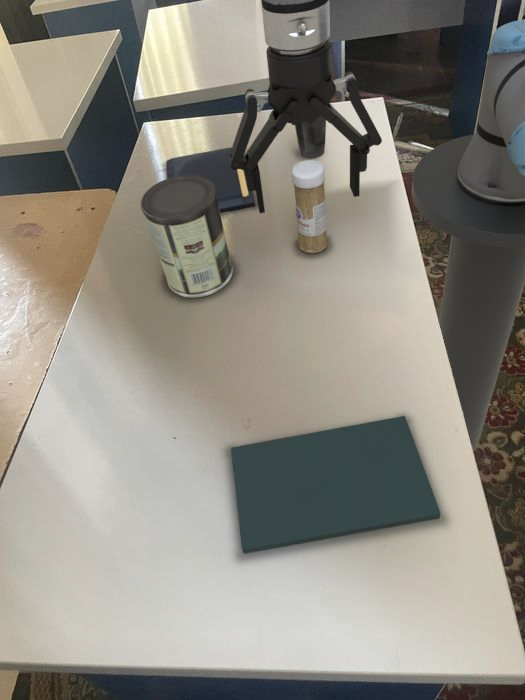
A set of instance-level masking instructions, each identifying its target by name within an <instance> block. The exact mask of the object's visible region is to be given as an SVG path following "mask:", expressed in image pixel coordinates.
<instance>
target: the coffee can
mask: <svg viewBox="0 0 525 700" xmlns="http://www.w3.org/2000/svg"><path fill="white" fill-rule="evenodd" d="M140 210H141V211H142V214H143V215H144V217H145V220H146V224H147V226H148V229H149V232H150V235H151V238H152V240H153V243H154V246H155V250H156V253H157V255H158V258H159V261H160V263H161V266H162V270H163V272H164V276H165V279H166V283H167V285H168V287H169V289H170V290H171V292H173V293H174V294H176V295H178V296H181V297H184V298H188V299H189V298H191V299H193V298H194V299H195V298H197V299H198V298H203V297H207V296H210V295H213V294H215V293H218V292H219V291H220V290H222V289H223V288H224V287H225V286H226V285H227V284H228V283H230V281H231V279H232V277H233V273H234V267H233V264H232V260H231V256H230V252H229V247H228V243H227V240H226V239H227V238H226V234H225V230H224V225H223V222H222V217H221V212H220V211H219V207H218V202H217V197H216V188H215V186H214V184H213V183H212V182H211V181H210V180H208V179H206V178H204V177H201V176H196V175H182V176H176V177H172V178H168V179H167V178H166V179H163V180H161V181H159V182H157V183H155V184H154V185H152V186H150V188H148V189H147V190H146V191H145V192H144V194H143V195H142V196H141V199H140Z"/></svg>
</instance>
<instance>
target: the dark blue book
mask: <svg viewBox="0 0 525 700" xmlns="http://www.w3.org/2000/svg"><path fill="white" fill-rule="evenodd" d="M231 149H232V147H225V148H218V149H214V150H209V151H203V152H198V153H191V154H187V155H181V156H176V157H172V158H170V159H167V160H166V163H165V164H166V179H168V178H172V177H176V176H182V175H196V176H201V177H204V178H206V179H208V180H210V181H211V182H212V183H213V184H214V186H215V188H216V197H217V202H218V207H219V211H220V213H224V212H229V211H234V210H238V209H244V208H247V207H248V208H249V207H254V206H255V200H254V199H255V198H254V194H253V191H249V190H248V188H247V183H246V177H245V172H244V171H243V170H241V169H238V170H232V169H231V166H230V160H229V155H230V152H231Z"/></svg>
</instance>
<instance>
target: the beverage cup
mask: <svg viewBox="0 0 525 700" xmlns="http://www.w3.org/2000/svg"><path fill="white" fill-rule="evenodd" d="M294 128H295V134H296V139H297V145H298V149H299V152H300V157H302V158H303V159H306V160H315V159H318V158H320V157H323V155H324V154H325V147H326V146H325V145H326V138H327V137H326V135H327V134H326V132H327V120H326V119H324V118H323V117H322V116H320V117H319V118H318V119H316V121H314V122H302V123H300V124H297V125H294Z"/></svg>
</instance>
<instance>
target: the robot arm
mask: <svg viewBox="0 0 525 700" xmlns="http://www.w3.org/2000/svg"><path fill="white" fill-rule="evenodd" d="M260 1H261V12H262V13H261V14H262V22H263V33H264V42H265V44H266V45H267V46H268V47H267V48H266V50H265V51H266V61H267V71H268V73H267V74H268V82H269V84H268V89H267V91H259V92H258V91H257V92H255V91H254V89H253V88H247V89H246V90H245V93H244V97H245V98H244V102H245V103H244V105H245V108H244V111H243V113H242V116H241V119H240V122H239V125H238V128H237V131H236V134H235V136H234V140H233V143H232V146H231V148H232V149H231V152H230V155H229V160H230V166H231V169H232V170H238V169H241V170H243V171H244V172H245V177H246V183H247V188H248V190H249V191H252V192H255V197H256V202H257V207H258V212H259V214H265V213H266V210H265V202H264V194H263V186H262V179H261V171H260V168H259V162H260V161H261V159H262V158H263V156H264V155H265V154H266V153H267V151H268V149H269V147H270V146H271V145H272V143H273V142H274V140H275V139H276V137H277V136H278V134H279V133H281V132H283V130H284V128H285V127H286V125H287V124H290V125H292V126H295V125H297V124H300V123H302V122H314V121H316V119H318V118H319V117H320V116H322V117H323V118H324V119H326V122H328V124H331V126H333V127H334V128H335V129H336V130H337V131H338V132H339V133H340V134H341V135H342V136H344V137H345V138H346V139H347V141H349V142H350V143H351V144H349V189H350V191H351V193H352V196H353V197H354V198H357V197H360V189H361V188H360V187H361V186H360V185H361V184H360V183H361V182H360V180H361V173H364V172H366V170H367V168H368V154H370V151H371V149H370V148H371V147H374V146H380V145H381V144H382V142H383V139H382V137H381V135H380V133H379V131H378V129H377V127H376V125H375V123H374V122H373V120H372V118H371V116H370V114H369V112H368V110H367V108H366V106H365V105H364V103H363V101H362V99H361V96H360V91H359V82H358V80H357V78H356V76H355V75H354V73H353V72H352V71H347V72H345V73H344V75H343V76H342V77H340V78H336V79H333V77H332V76H333V75H332V44H331V43H332V42H330V40H329V38H330V36H331V34H332V33H331V7H330V6H331V5H330V4H331V3H330V0H260ZM486 55H487V59H486V65H485V72H484V78H483V84H482V90H481V97H480V103H479V108H478V109H479V110H478V115H477V121H476V128H475V132H474V136H473V138H472V140H471V141H470V143H469V145H468V147H467V149H466V151H465V153H464V155H463V157H462V159H461V161H460V163H459V167H458V172H457V181H458V184H459V186H460V187H461V189H462V190H463V191H464V192H466V193H467V194H468V195H470V196H472V197H473V198H475V199H478V200H480V201H483V202H486V203H490V204H496V205H504V206H518V205H525V19H518V20H513V21H511V22H508V23H505V24H503V25H501V26H499V27H498V28H497V29H496V30H495V31H494V32H493V34H492V36H491V40H490V44H489V48H488V50H487V52H486ZM336 92H339V93H340V94H341V95H342V97H344V98H348V100H349V102H350V104H351V105H352V107H353V109H354V111H355V113H356V115H357V117H358V118H359V120H360V121H361V124H362V126H363V128H364V129H365V131H366V133H365V134H363V135H362V133H361V132H359V130H358V129H356V127H354V126H353V124H351V123H350V122H349V121H348V120H347V119H346V118H345V117H344V116H343V115H342V114H341V113H340V112H339V111H338V110H337V109H336V108H335V107H334V106H333V105H332V103H331V101H332V99H333V98H334V96H335V94H336ZM266 104H268V105H269V106H270V107H271V108H272V110H271V112H270V113H269V115H268V119H267V121H266V122H265V123H264V125H263V127H262V128H261V130H260V131H259V133H258V134H257V136H255V139H254V140H253V141H252V143H251V145H250V146H249V148H248V150H247V146H248V145H249V142H250V139H251V136H252V134H253V131H254V127H255V125H256V122H257V117H258V113H261V112H262V111H263V109H264V106H265V105H266ZM246 150H247V151H246Z"/></svg>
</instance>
